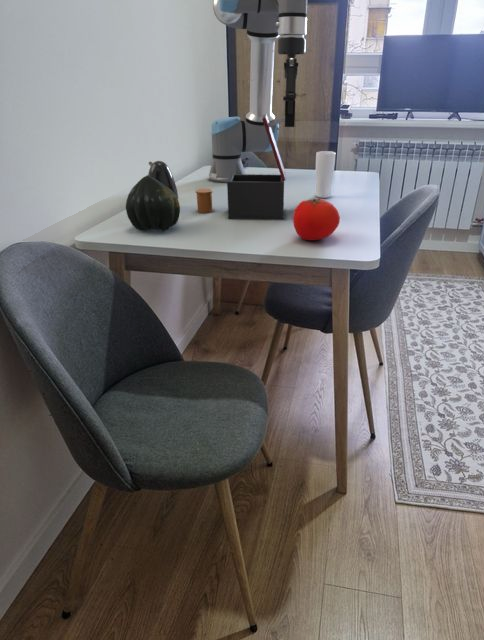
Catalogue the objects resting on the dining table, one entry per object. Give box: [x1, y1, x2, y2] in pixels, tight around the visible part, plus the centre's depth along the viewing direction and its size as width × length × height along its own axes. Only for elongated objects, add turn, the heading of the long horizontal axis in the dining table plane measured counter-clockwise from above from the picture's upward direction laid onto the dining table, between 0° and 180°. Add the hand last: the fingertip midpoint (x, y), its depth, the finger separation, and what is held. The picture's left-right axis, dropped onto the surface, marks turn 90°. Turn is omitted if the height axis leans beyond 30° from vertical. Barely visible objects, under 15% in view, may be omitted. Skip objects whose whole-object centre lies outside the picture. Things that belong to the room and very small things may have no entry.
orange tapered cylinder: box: [195, 188, 214, 214], centre depth 153 cm, size 5×5×6 cm
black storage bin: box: [226, 173, 285, 220], centre depth 149 cm, size 17×12×11 cm
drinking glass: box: [315, 150, 336, 199], centre depth 169 cm, size 7×7×15 cm
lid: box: [262, 114, 287, 182], centre depth 141 cm, size 18×12×8 cm
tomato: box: [292, 197, 341, 241], centre depth 127 cm, size 13×12×11 cm
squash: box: [125, 174, 181, 232], centre depth 136 cm, size 14×15×15 cm
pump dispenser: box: [147, 160, 179, 199], centre depth 153 cm, size 10×10×15 cm
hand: (289, 124), depth 138 cm, fingers open, 13 cm apart
